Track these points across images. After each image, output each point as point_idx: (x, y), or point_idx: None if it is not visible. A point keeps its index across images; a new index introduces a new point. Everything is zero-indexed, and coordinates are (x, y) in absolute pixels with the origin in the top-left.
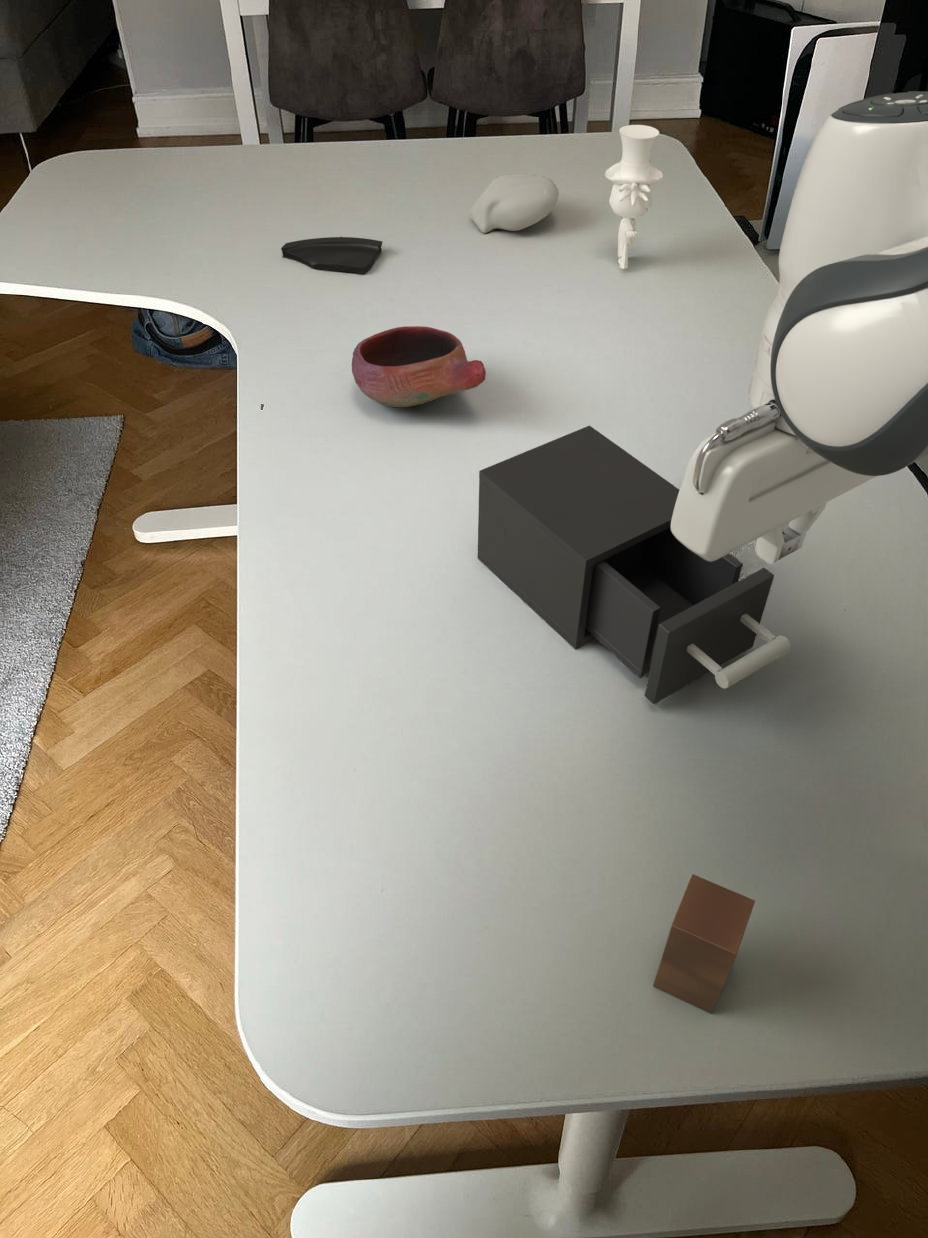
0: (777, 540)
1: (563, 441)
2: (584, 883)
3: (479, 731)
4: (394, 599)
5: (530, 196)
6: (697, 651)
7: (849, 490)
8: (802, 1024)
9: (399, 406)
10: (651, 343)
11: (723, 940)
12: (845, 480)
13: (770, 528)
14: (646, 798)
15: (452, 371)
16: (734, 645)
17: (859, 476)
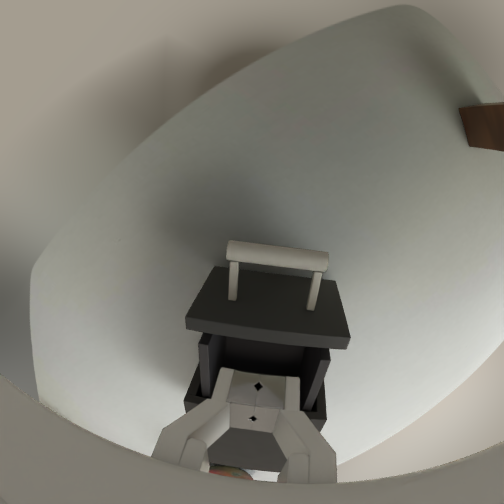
0: (311, 429)
1: (224, 463)
2: (473, 212)
3: (419, 333)
4: (357, 415)
5: None
6: (313, 300)
7: (101, 441)
8: (450, 57)
9: (243, 471)
10: (97, 416)
11: None
12: (118, 495)
13: (408, 489)
14: (405, 225)
15: None
16: (240, 278)
17: (71, 460)
